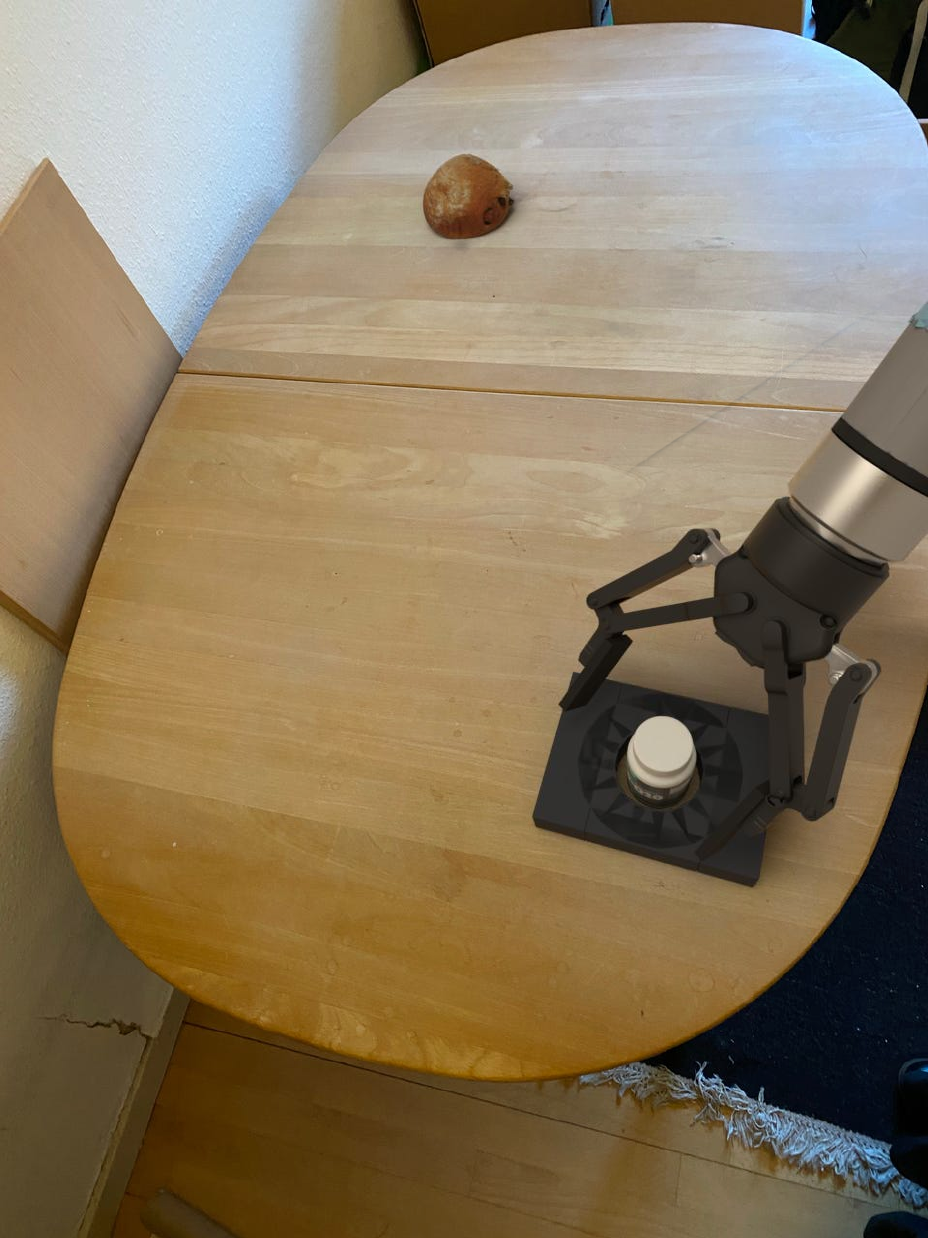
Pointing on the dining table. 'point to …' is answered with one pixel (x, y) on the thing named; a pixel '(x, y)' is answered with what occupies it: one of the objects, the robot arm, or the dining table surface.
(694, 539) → the robot arm
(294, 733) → the dining table surface
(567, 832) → the black rectangular holder
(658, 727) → the pill bottle
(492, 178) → the bread roll
